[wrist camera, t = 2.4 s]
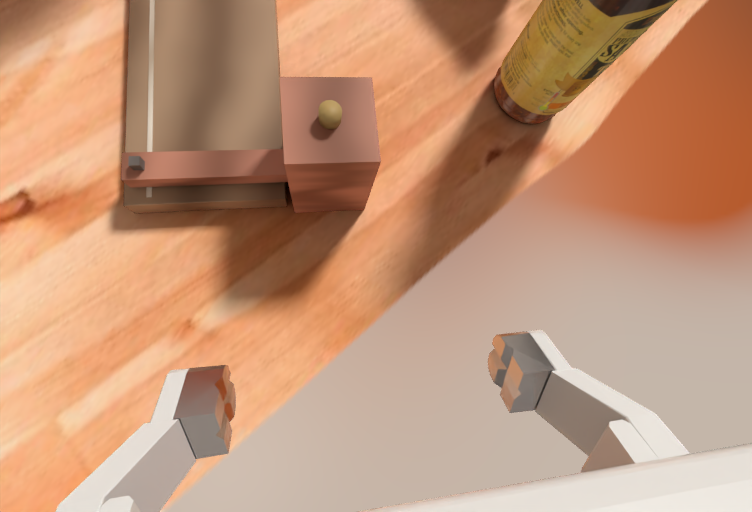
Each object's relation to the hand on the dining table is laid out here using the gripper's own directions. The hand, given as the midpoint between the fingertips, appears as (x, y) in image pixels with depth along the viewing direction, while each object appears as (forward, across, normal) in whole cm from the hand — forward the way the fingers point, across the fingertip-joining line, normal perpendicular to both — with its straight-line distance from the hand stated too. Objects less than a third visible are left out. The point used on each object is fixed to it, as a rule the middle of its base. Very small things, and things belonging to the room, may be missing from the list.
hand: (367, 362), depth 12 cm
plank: (+25, -8, +5) cm, 27 cm away
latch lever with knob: (+19, -5, -2) cm, 20 cm away
